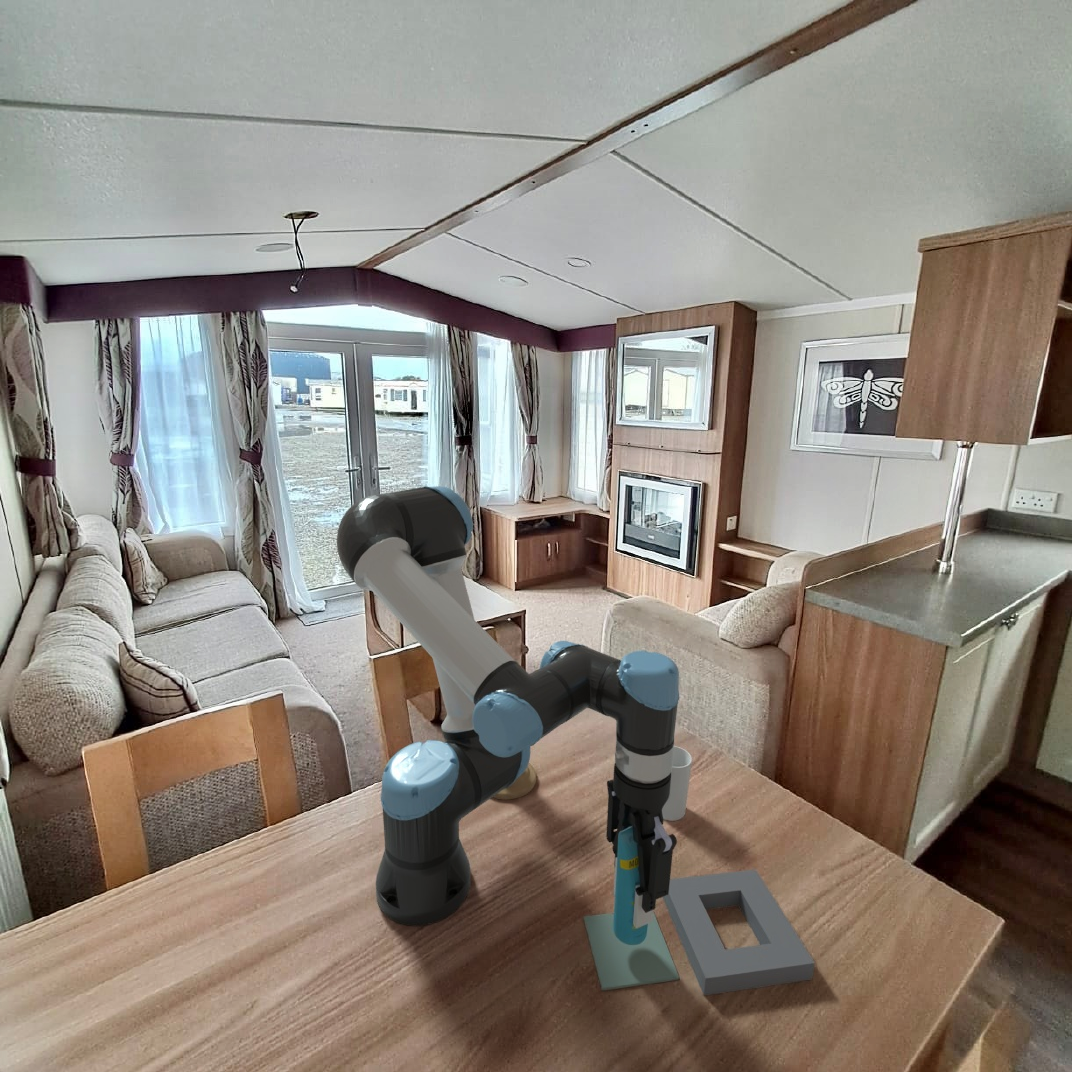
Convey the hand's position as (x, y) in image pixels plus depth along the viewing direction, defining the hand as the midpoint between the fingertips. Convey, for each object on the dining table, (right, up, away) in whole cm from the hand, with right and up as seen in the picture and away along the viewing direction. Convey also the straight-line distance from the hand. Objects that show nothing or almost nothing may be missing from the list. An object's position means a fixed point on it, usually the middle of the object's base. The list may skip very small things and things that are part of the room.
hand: (632, 907), depth 83 cm
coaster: (0, -7, +2) cm, 7 cm away
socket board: (+16, -7, +4) cm, 18 cm away
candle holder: (-20, +2, +37) cm, 42 cm away
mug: (+11, 0, +31) cm, 33 cm away
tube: (0, -4, +1) cm, 4 cm away
